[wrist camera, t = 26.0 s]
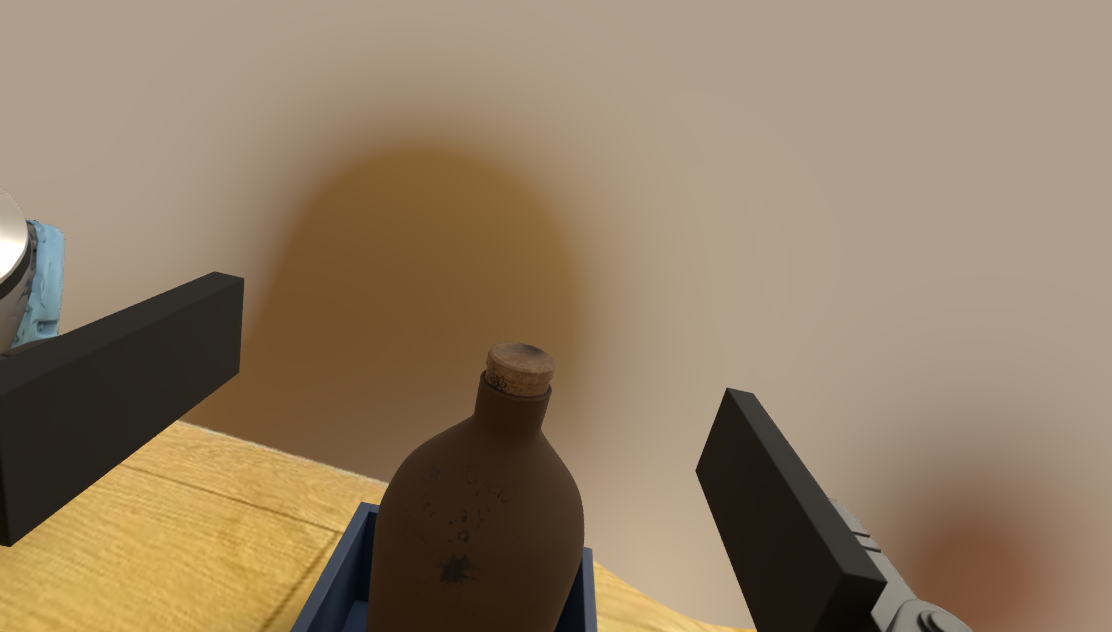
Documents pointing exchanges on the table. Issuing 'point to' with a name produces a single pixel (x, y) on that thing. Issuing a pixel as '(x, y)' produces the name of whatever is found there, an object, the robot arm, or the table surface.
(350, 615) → the blue-grey hollow square box
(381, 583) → the brown bottle
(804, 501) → the robot arm
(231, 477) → the table surface
